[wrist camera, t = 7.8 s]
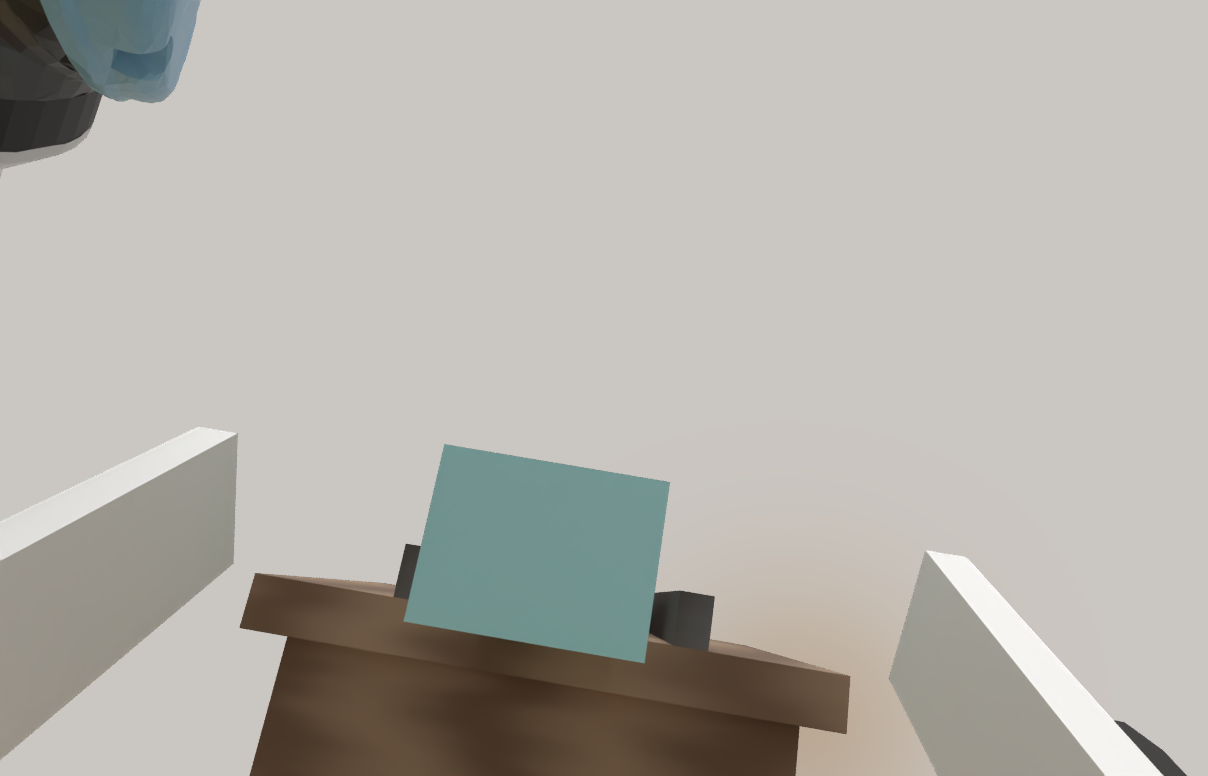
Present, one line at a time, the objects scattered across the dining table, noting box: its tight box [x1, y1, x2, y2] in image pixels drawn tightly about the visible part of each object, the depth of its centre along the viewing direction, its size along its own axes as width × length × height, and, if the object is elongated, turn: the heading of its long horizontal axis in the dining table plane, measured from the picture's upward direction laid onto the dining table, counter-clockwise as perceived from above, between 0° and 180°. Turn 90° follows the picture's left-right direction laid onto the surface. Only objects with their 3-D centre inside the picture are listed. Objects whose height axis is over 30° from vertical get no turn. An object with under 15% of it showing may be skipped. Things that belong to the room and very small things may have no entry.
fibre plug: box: [404, 444, 670, 663], centre depth 24 cm, size 6×23×4 cm, turn 1°
